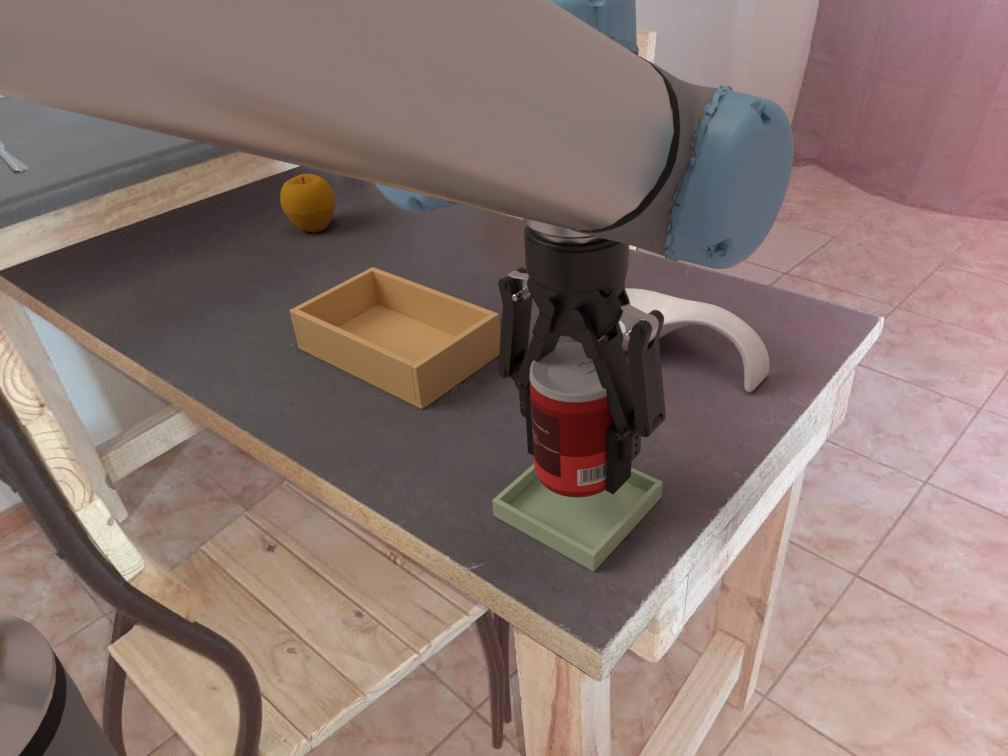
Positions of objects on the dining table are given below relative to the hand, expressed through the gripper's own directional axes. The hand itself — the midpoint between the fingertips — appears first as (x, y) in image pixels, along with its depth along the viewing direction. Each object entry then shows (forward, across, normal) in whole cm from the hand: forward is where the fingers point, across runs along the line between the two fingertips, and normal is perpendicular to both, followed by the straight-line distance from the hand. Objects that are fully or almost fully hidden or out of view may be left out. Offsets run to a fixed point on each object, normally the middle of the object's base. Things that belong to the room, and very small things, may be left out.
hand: (578, 464), depth 68 cm
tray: (+5, 0, 0) cm, 5 cm away
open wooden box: (+5, +33, -9) cm, 35 cm away
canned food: (+1, 0, 0) cm, 1 cm away
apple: (+5, +72, -27) cm, 77 cm away
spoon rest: (+5, +6, -27) cm, 28 cm away
